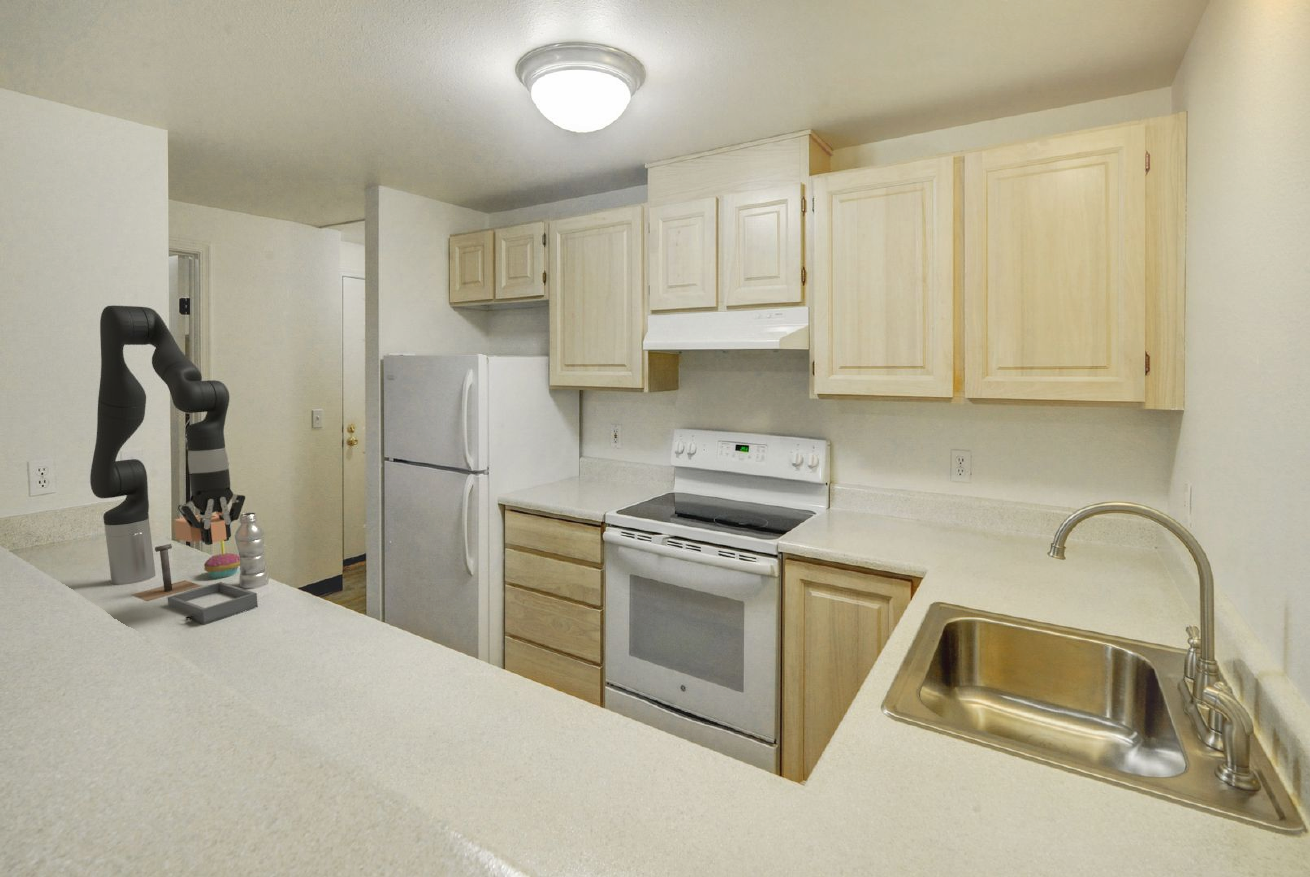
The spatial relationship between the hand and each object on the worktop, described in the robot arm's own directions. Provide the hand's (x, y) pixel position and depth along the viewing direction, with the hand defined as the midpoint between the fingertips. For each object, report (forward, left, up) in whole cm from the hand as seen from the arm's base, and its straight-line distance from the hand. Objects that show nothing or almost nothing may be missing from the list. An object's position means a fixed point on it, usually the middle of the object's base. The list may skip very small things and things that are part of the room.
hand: (216, 541), depth 151 cm
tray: (-5, 0, -17) cm, 18 cm away
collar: (-5, 0, 0) cm, 5 cm away
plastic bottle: (-9, +12, -17) cm, 23 cm away
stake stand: (-24, -1, -17) cm, 30 cm away
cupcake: (-25, +13, -17) cm, 33 cm away
